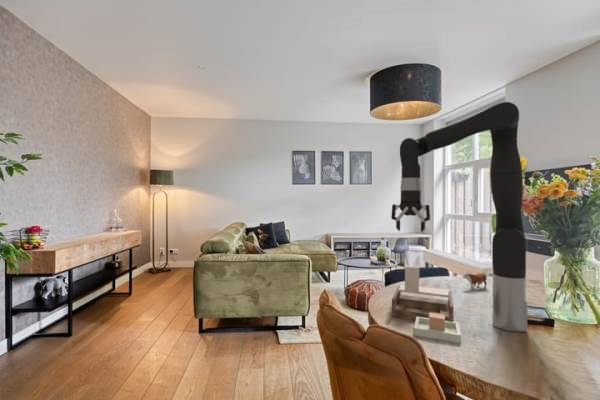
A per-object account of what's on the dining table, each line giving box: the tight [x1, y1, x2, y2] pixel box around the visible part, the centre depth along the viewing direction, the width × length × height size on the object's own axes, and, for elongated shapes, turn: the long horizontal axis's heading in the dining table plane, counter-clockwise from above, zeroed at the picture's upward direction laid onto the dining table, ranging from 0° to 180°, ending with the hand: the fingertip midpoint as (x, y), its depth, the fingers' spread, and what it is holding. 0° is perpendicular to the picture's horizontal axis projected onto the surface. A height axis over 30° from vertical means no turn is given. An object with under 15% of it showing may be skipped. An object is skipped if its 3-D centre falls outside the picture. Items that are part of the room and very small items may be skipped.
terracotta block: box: [429, 313, 445, 332], centre depth 102 cm, size 4×4×4 cm
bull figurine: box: [462, 271, 488, 291], centre depth 156 cm, size 4×13×8 cm, turn 107°
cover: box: [399, 265, 449, 298], centre depth 124 cm, size 18×8×10 cm, turn 67°
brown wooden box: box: [391, 285, 454, 322], centre depth 120 cm, size 20×20×6 cm
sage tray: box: [413, 316, 462, 344], centre depth 102 cm, size 13×11×2 cm
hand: (410, 231), depth 126 cm, fingers open, 8 cm apart
